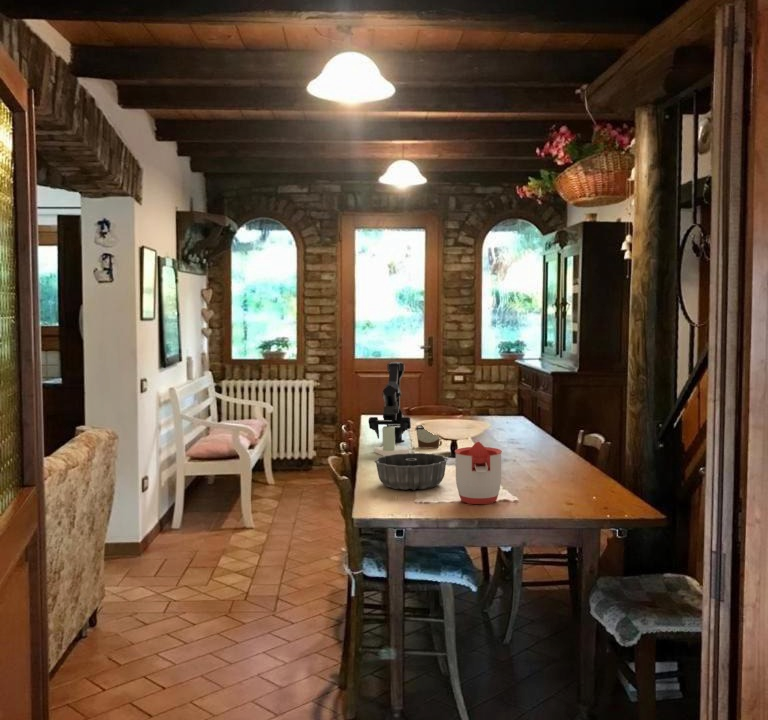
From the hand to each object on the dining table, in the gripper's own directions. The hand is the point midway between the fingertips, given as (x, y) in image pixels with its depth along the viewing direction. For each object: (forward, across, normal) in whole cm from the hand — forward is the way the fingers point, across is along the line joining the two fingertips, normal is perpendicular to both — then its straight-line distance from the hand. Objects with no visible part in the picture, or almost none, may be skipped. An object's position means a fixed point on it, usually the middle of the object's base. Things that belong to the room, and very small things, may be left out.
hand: (388, 438), depth 347 cm
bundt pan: (+48, +15, -37) cm, 63 cm away
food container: (-9, +17, +20) cm, 28 cm away
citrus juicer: (+64, +39, -54) cm, 92 cm away
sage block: (+3, 0, +5) cm, 6 cm away
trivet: (+2, +1, +8) cm, 8 cm away
